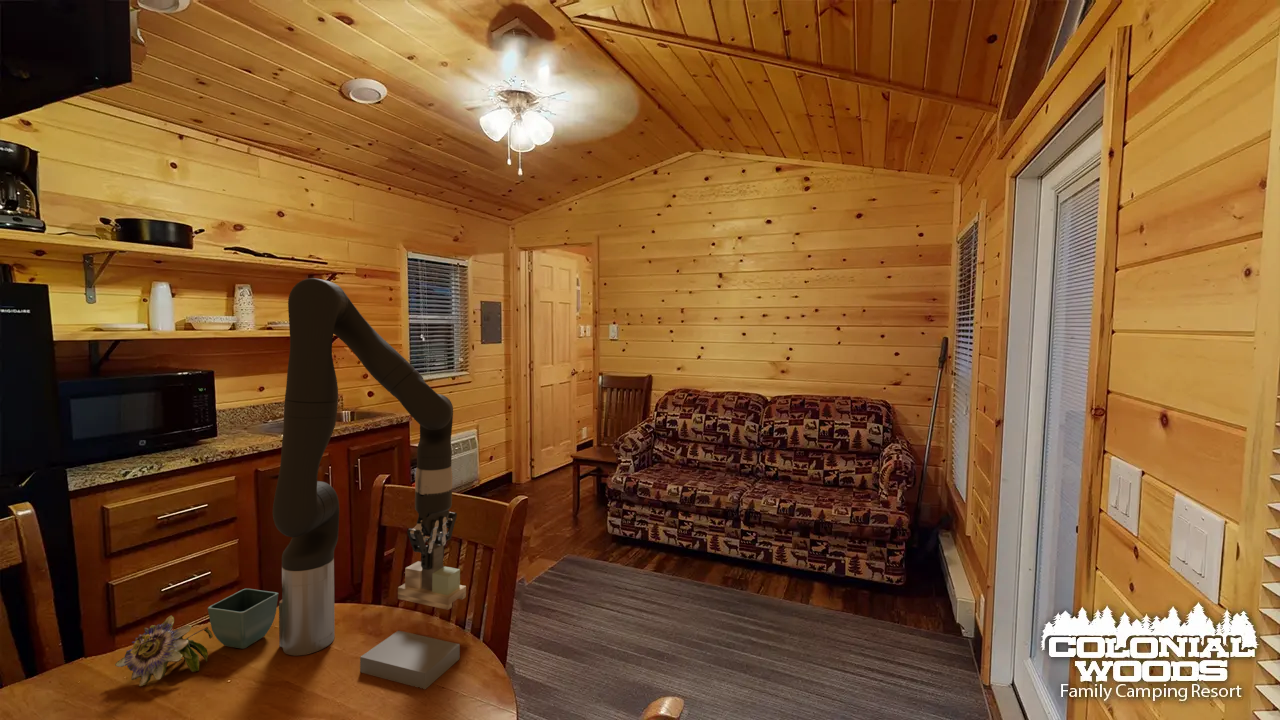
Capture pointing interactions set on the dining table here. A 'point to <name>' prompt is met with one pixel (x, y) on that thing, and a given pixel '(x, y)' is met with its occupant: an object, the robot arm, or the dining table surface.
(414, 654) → the dock
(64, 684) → the dining table surface
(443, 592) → the green block
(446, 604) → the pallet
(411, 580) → the cream block
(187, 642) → the passion flower
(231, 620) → the flower pot
